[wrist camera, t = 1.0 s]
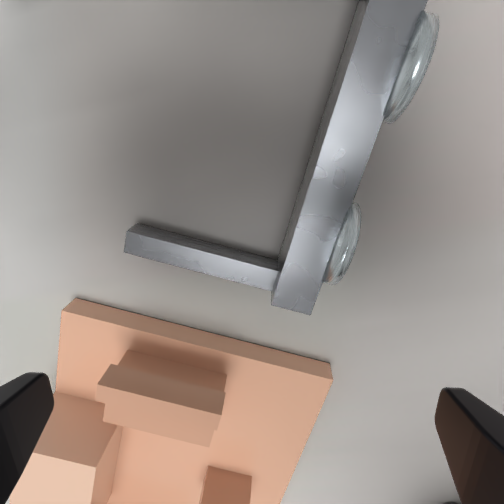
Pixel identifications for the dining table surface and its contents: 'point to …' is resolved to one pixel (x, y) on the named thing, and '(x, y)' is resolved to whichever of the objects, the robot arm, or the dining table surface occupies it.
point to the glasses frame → (324, 163)
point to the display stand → (169, 415)
